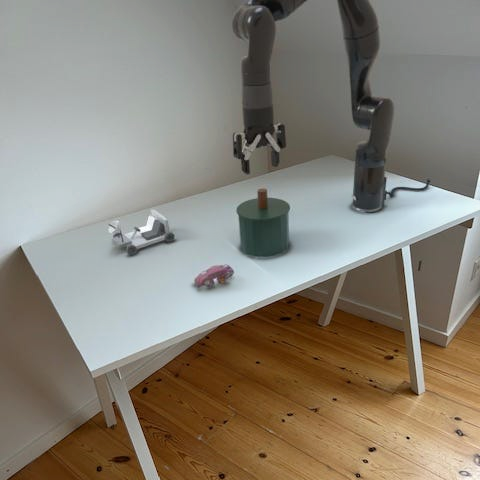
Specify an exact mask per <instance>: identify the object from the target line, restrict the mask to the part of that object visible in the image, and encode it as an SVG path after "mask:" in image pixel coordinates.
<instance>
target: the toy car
mask: <svg viewBox="0 0 480 480" xmlns="http://www.w3.org/2000/svg"><path fill="white" fill-rule="evenodd" d="M121 227H122V226H121V224H120V221H119V220H113V221H111V223H108V233H109V234H113V235H112V237H111V238H110V239H111V242H112V243H113V244H114V245H115V246H116V247H117V248H118V249H122V248H124V247H125V248H126V249H125V251H126V253H127V254H128V255H130V256H134V255H135V254H137V252H138V250H139V249H141V248H145V247H147V246H148V247H149V246H151V245H153V244H157V243H159V242H162V241H166V242H167V243H172V242H173V241H174V240H175V234H174V233H173V232H172V231H171V230H170V225H169V219H168V218H166V216H164V215H163V214H161V213H159V212H158V211H157V210H155V209H153V208H152V209H150V214H149V215H148V218H147V221H146V225H144V226H140V227H136V226H134V227H133V229H134V230H133V231H130V232H127V233H124V234H123V233H122V228H121Z"/></svg>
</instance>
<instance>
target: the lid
mask: <svg viewBox="0 0 480 480" xmlns="http://www.w3.org/2000/svg"><path fill="white" fill-rule="evenodd" d="M256 193H257V197H255V198H251V199H248V200H244V201H243V202H241V203H240V204H238V206H237V207H236V209H235V210H236V214H237V216H238V215H239V216H240V217H242V218H245V219H248V220H255V221H265V220H272V219H276V218H280V217H282V216H284V215H286V214H287V213H288V214H289V212H290V209H291V205H290V204H289V203H288V202H287V201H286V200H285V199H284V200H283V199H281V198H276V197H268V189H267V188H259V189H257V191H256Z"/></svg>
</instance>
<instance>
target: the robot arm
mask: <svg viewBox="0 0 480 480" xmlns="http://www.w3.org/2000/svg"><path fill="white" fill-rule="evenodd" d="M308 1H309V0H247V1H246V2H244V3H242V5H240V6H239V7H238V8H237V10H236V11H235V12H234V15H233V16H232V19H231V30H232V33H233V35H234V36H235V37H236V38H237V40H239V41H241V42H245V43H248V51H247V55H244V56H243V57H242V58H241V60H240V76H241V77H240V78H241V94H240V95H241V107H242V108H241V109H242V120H243V121H242V122H243V132H233V133H232V156H233V157H234V158H236V159H237V160H240V166H241V171H242V172H243V173H244V174H245V175H250V174H251V167H250V166H251V165H250V157H251V154H252V153H254V151H255V149H259V148H261V147H267V146H268V147H269V148H270V149H271V151H270V161H271V166H272V167H274V168H278V167H279V164H280V152H281V150H282V149H285V148H286V147H287V140H286V137H287V136H286V126H285V124H283V123H282V122H281V123H280V122H276V123H275V124H274V122H275V118H274V117H275V115H274V114H275V113H274V92H273V85H272V84H273V83H272V65H271V64H272V63H271V62H272V57H273V53H274V46H275V40H276V32H277V24H276V22H280V21H283V20H286V19H287V18H289V17H290V16H292V15H293V14H294V13H295V12H296V11H298V9H299V8H301V7H302V6H303V5H305V4H306V3H307V2H308ZM336 3H337V9H338V14H339V19H340V25H341V33H342V35H341V36H342V41H343V49H344V52H345V53H344V54H345V57H346V65H347V72H348V79H349V80H348V81H349V89H350V90H349V93H350V110H351V117H352V122H353V124H354V125H355V126H356V128H359V129H362V130H367V131H369V135H368V136H369V137H368V139H364V140H361V141H359V142H357V144H356V145H355V157H354V169H353V170H354V171H353V185H352V187H353V188H352V194H351V198H352V199H351V207H352V209H354V210H356V211H360V212H364V213H374V212H378V211H380V210H381V209H382V208H383V207H384V206H385V200H387V195H389V197H391V198H392V197H394V191H396V190H409V191H424V190H426V189H427V188H428V187H429V185H430V183H431V180H430V179H429V178H428V179H426V184H425V185H424V186H423V187H409V186H397V187H396V186H395V187H393V188H392V189H391V191H388V190H386V188H387V179H388V178H387V176H385V174H386V167H387V156H388V155H387V154H388V148H389V146H390V143H391V139H392V134H393V133H392V132H393V127H394V122H395V121H394V120H395V113H396V111H395V103H394V101H393V99H391V98H390V97H386V96H380V95H375V94H373V92H372V87H371V86H372V85H371V75H372V70H373V68H374V66H375V64H376V62H377V59H378V56H379V54H380V50H381V45H382V44H381V31H380V24H379V23H380V22H379V18H378V14H377V12H376V10H375V8H374V6H373V4H372V2H371V0H336ZM274 133H275V136H276V140H275V139H274V137H273V136H274ZM244 139H245V141H244ZM243 142H244V143H243ZM422 261H423V260H419V261H418V262H419V263H418V267H417V271H418V272H420V271H421V266H422Z"/></svg>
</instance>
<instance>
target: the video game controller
mask: <svg viewBox="0 0 480 480" xmlns="http://www.w3.org/2000/svg"><path fill="white" fill-rule="evenodd" d="M234 274H235V271H234V269H233V268H232V266H231V265H229V264H228V263H224V264H217V265H212V266H210V267H209V268H208V269H206V270H202V271H201V272H200V273H198V275H197V276H195V277H194V280H193V281H194V286H196V287H197V288H201V287H206V288H208V289H210V288H212V287H214V286H215V284H216V282H217V283H218V284H219V285H220V284H221V285H222V284H224V283H225V282H227V280H228V279H229V278H231V277H232V276H233V275H234ZM215 280H216V282H215Z"/></svg>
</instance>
